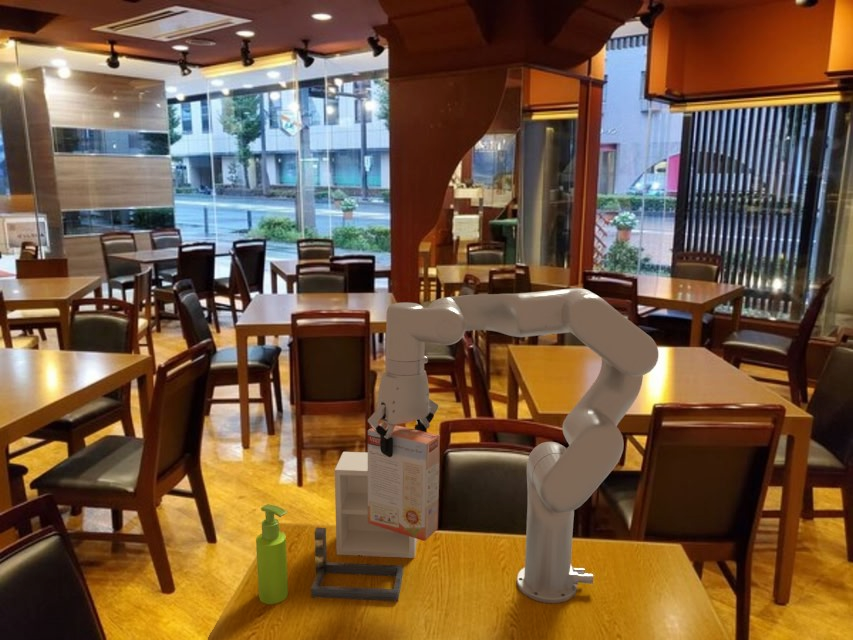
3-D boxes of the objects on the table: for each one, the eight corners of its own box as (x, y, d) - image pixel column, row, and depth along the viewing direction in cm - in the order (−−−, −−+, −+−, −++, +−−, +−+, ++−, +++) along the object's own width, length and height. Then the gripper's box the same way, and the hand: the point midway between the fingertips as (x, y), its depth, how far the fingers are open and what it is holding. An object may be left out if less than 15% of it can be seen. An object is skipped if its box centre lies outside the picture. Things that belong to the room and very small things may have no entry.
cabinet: (417, 534, 156) (418, 454, 152) (414, 558, 146) (414, 472, 142) (345, 531, 157) (343, 451, 153) (336, 554, 147) (334, 469, 143)
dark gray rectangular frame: (403, 572, 141) (403, 531, 139) (398, 601, 131) (398, 557, 129) (318, 568, 142) (316, 527, 140) (306, 596, 132) (305, 553, 130)
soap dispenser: (278, 609, 128) (274, 518, 124) (252, 598, 131) (248, 509, 127) (297, 593, 133) (294, 505, 129) (272, 583, 136) (268, 497, 132)
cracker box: (439, 529, 132) (441, 433, 127) (424, 543, 126) (426, 443, 122) (382, 511, 138) (383, 420, 134) (366, 523, 133) (366, 429, 129)
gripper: (428, 355, 134) (426, 434, 137) (357, 368, 123) (357, 453, 127) (451, 363, 128) (448, 446, 131) (378, 377, 117) (377, 467, 121)
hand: (403, 449), depth 129 cm, fingers closed on cracker box, 7 cm apart
